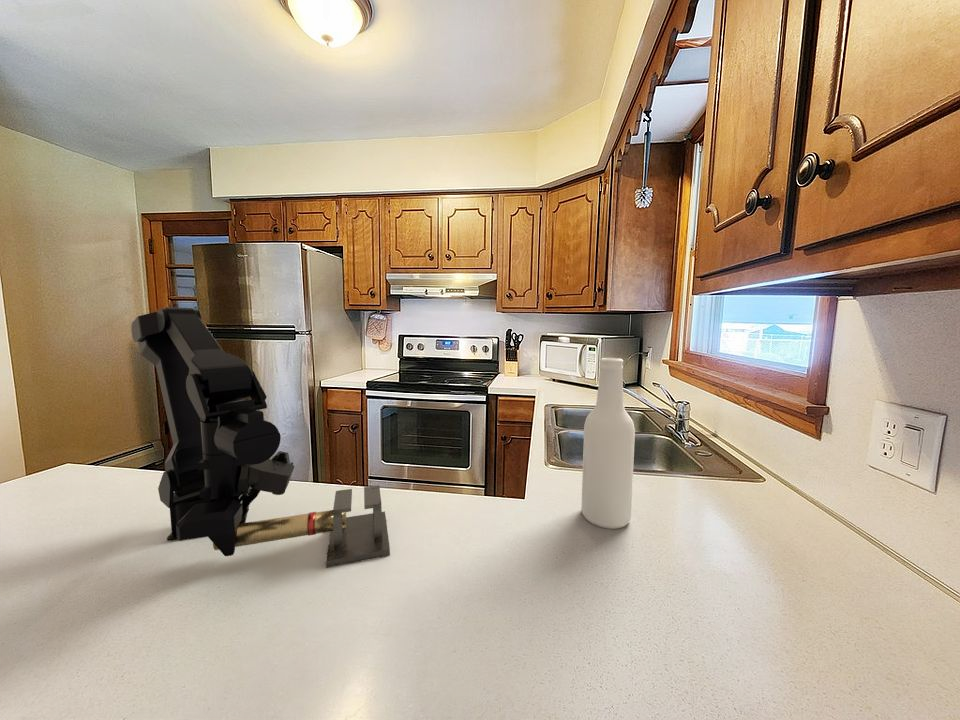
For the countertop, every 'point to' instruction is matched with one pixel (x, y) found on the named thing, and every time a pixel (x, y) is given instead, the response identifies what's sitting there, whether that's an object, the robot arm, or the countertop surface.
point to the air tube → (285, 528)
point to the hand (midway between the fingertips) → (233, 548)
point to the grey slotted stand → (358, 530)
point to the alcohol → (608, 453)
